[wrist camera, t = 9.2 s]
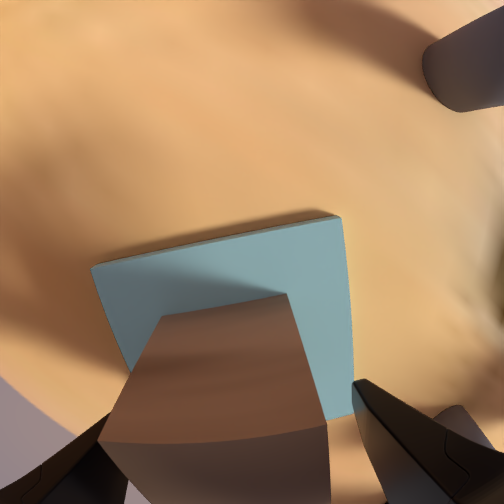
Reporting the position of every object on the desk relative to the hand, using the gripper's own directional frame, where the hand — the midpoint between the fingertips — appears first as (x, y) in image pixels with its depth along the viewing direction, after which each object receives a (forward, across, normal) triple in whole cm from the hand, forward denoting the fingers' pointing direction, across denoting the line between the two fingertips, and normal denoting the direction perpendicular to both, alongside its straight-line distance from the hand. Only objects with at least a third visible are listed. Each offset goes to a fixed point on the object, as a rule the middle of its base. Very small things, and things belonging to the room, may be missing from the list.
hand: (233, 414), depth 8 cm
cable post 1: (+4, -11, -10) cm, 15 cm away
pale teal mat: (+4, 0, 0) cm, 4 cm away
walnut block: (+3, 0, 0) cm, 3 cm away
